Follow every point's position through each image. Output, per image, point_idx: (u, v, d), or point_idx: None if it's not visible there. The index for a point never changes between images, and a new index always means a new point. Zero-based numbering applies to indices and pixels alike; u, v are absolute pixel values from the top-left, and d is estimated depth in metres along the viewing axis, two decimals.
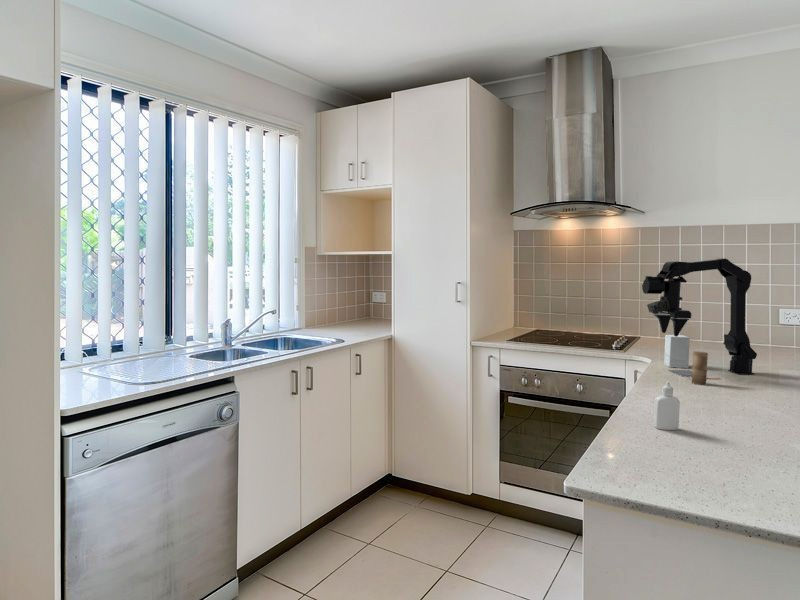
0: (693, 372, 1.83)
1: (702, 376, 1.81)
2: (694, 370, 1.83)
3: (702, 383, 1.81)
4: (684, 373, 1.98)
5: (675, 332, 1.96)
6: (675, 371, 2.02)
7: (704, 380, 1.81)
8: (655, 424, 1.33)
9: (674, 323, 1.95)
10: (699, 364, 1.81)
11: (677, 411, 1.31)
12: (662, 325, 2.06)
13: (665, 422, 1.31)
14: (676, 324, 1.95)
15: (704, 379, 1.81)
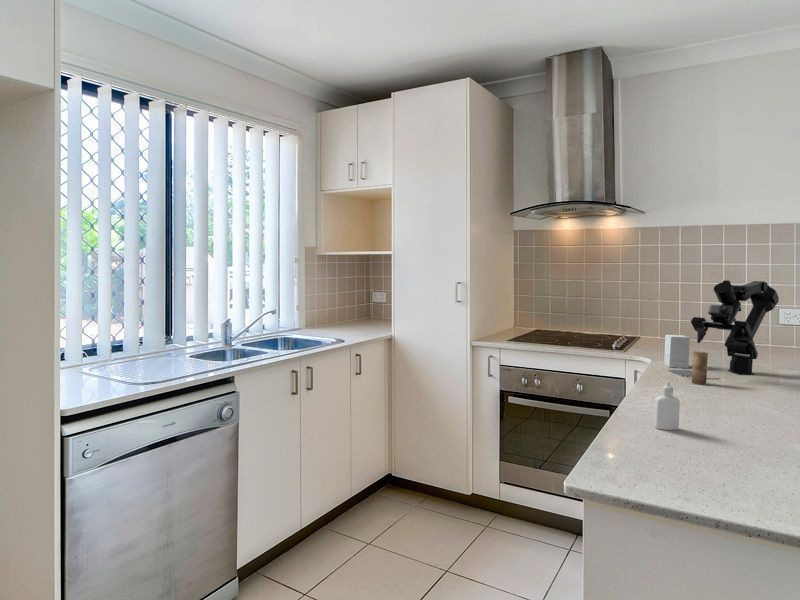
0: (693, 372, 1.83)
1: (702, 376, 1.81)
2: (694, 370, 1.83)
3: (702, 383, 1.81)
4: (684, 373, 1.98)
5: (728, 341, 1.83)
6: (675, 371, 2.02)
7: (704, 380, 1.81)
8: (655, 424, 1.33)
9: (733, 333, 1.83)
10: (699, 364, 1.81)
11: (677, 411, 1.31)
12: (700, 335, 1.91)
13: (665, 422, 1.31)
14: (734, 335, 1.83)
15: (704, 379, 1.81)
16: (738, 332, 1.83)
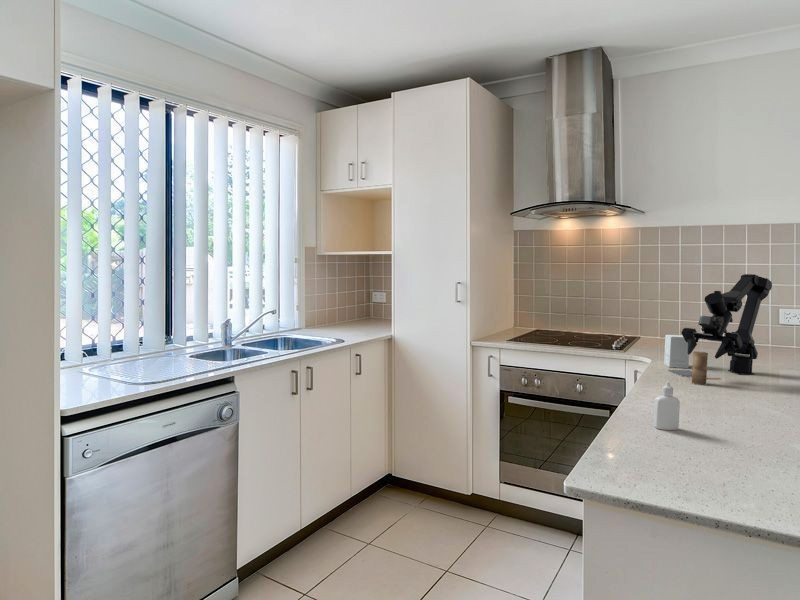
0: (693, 372, 1.83)
1: (702, 376, 1.81)
2: (694, 370, 1.83)
3: (702, 383, 1.81)
4: (684, 373, 1.98)
5: (718, 353, 1.79)
6: (675, 371, 2.02)
7: (704, 380, 1.81)
8: (655, 424, 1.33)
9: (723, 344, 1.80)
10: (699, 364, 1.81)
11: (677, 411, 1.31)
12: (691, 346, 1.88)
13: (665, 422, 1.31)
14: (724, 346, 1.80)
15: (704, 379, 1.81)
16: (729, 344, 1.80)
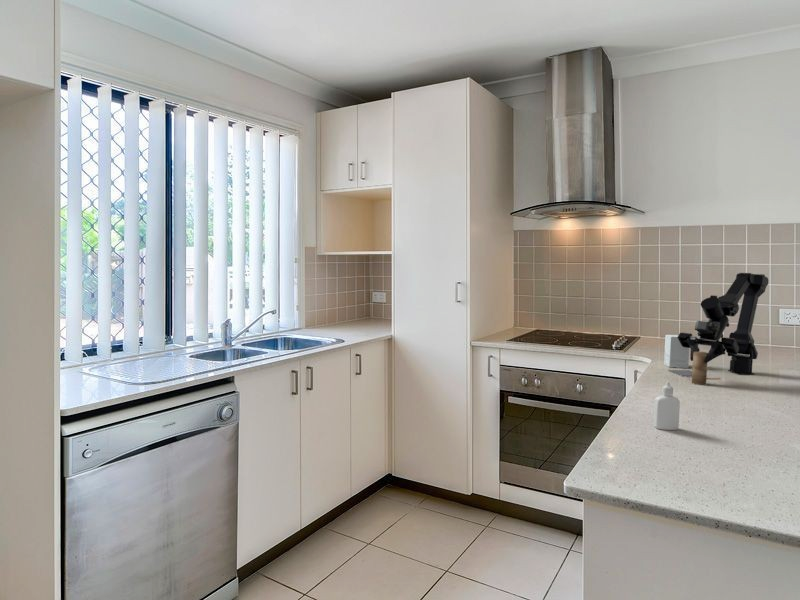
0: (693, 372, 1.83)
1: (702, 376, 1.81)
2: (694, 370, 1.83)
3: (702, 383, 1.81)
4: (684, 373, 1.98)
5: (708, 358, 1.80)
6: (675, 371, 2.02)
7: (704, 380, 1.81)
8: (655, 424, 1.33)
9: (713, 349, 1.80)
10: (699, 364, 1.81)
11: (677, 411, 1.31)
12: None
13: (665, 422, 1.31)
14: (714, 351, 1.80)
15: (704, 379, 1.81)
16: (718, 348, 1.81)
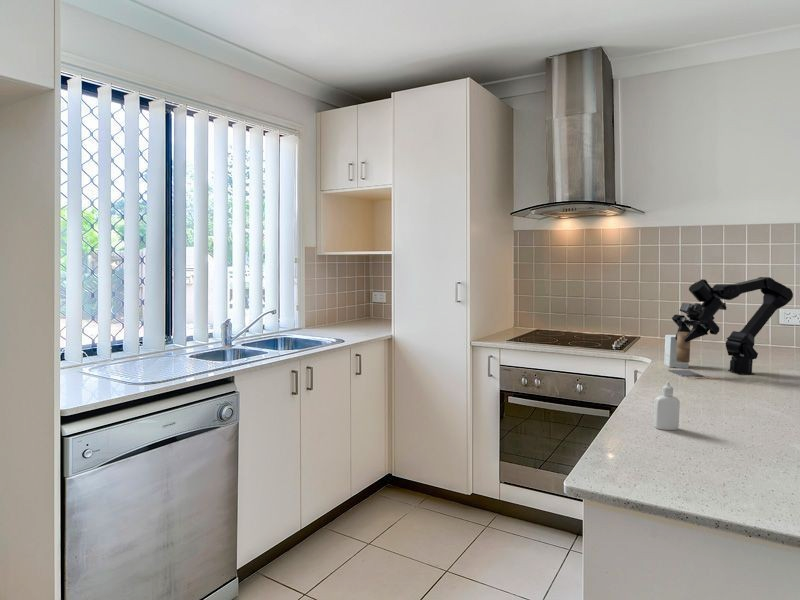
0: None
1: (683, 354, 1.95)
2: None
3: (683, 360, 1.95)
4: (684, 373, 1.98)
5: (687, 337, 1.93)
6: (675, 371, 2.02)
7: (685, 358, 1.94)
8: (655, 424, 1.33)
9: (693, 329, 1.93)
10: (680, 343, 1.95)
11: (677, 411, 1.31)
12: None
13: (665, 422, 1.31)
14: (694, 331, 1.92)
15: (685, 357, 1.94)
16: (700, 328, 1.92)
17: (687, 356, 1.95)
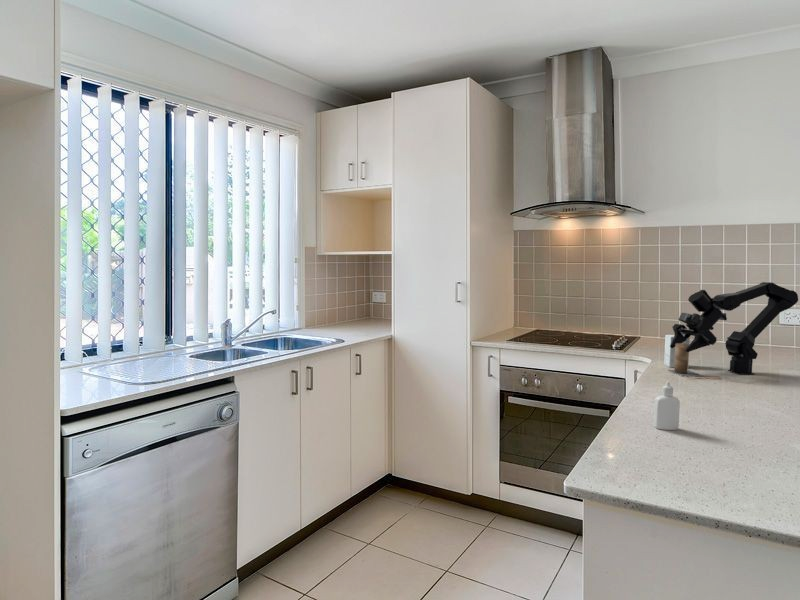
0: None
1: (680, 365, 1.97)
2: None
3: (680, 372, 1.97)
4: None
5: (689, 347, 1.93)
6: None
7: (683, 369, 1.97)
8: (655, 424, 1.33)
9: (695, 339, 1.93)
10: (678, 355, 1.98)
11: (677, 411, 1.31)
12: (674, 340, 2.03)
13: (665, 422, 1.31)
14: (696, 341, 1.93)
15: (683, 368, 1.97)
16: (701, 339, 1.92)
17: (684, 368, 1.97)
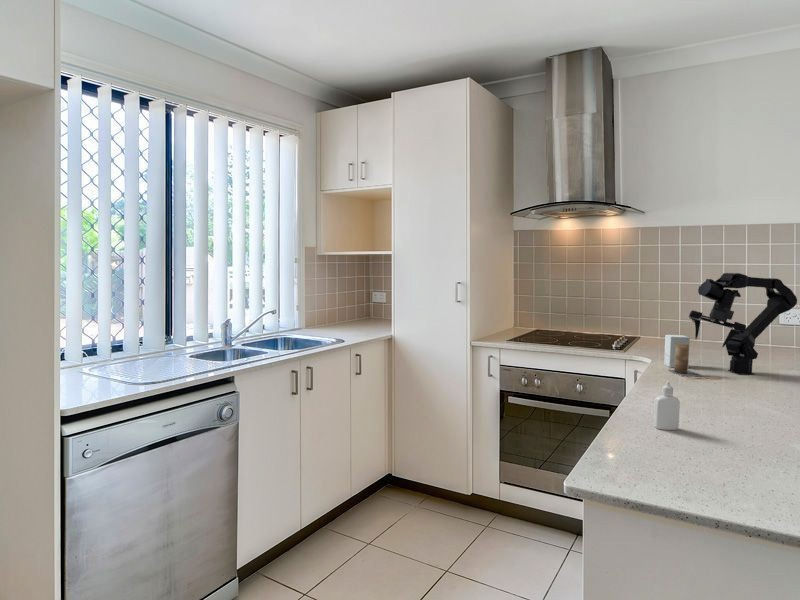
0: None
1: (680, 365, 1.97)
2: (675, 360, 2.00)
3: (680, 372, 1.97)
4: None
5: (725, 343, 1.95)
6: None
7: (683, 369, 1.97)
8: (655, 424, 1.33)
9: (731, 335, 1.94)
10: (678, 355, 1.98)
11: (677, 411, 1.31)
12: (698, 331, 2.00)
13: (665, 422, 1.31)
14: None
15: (683, 368, 1.97)
16: (735, 332, 1.95)
17: (685, 368, 1.97)
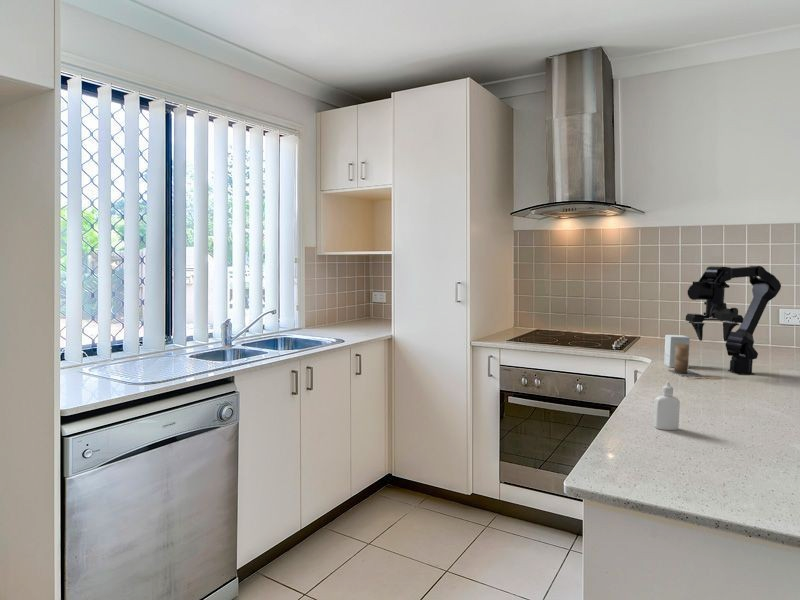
0: None
1: (680, 365, 1.97)
2: (675, 360, 2.00)
3: (680, 372, 1.97)
4: None
5: None
6: None
7: (683, 369, 1.97)
8: (655, 424, 1.33)
9: (731, 328, 1.95)
10: (678, 355, 1.98)
11: (677, 411, 1.31)
12: None
13: (665, 422, 1.31)
14: None
15: (683, 368, 1.97)
16: None
17: (685, 368, 1.97)
